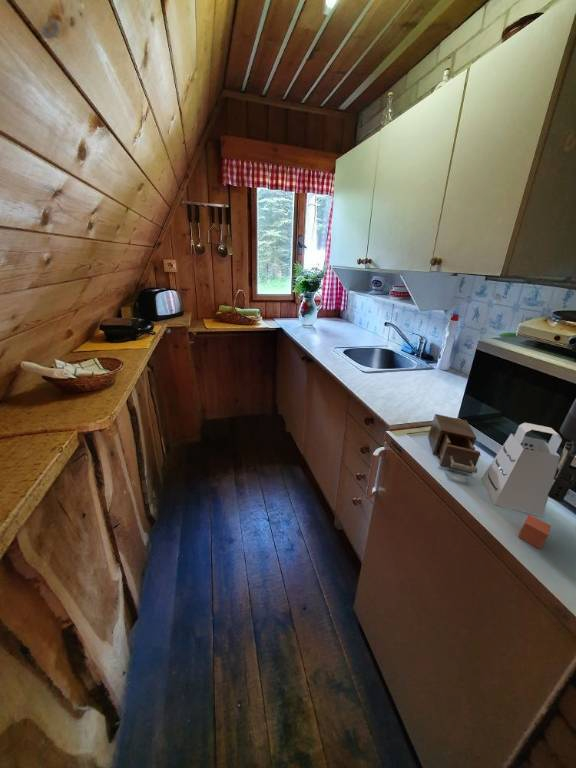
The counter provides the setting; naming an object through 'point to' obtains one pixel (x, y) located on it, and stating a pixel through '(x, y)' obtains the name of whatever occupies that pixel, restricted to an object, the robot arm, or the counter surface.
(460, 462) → the drawer
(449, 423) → the cabinet
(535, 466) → the grater
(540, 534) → the block
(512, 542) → the counter surface
